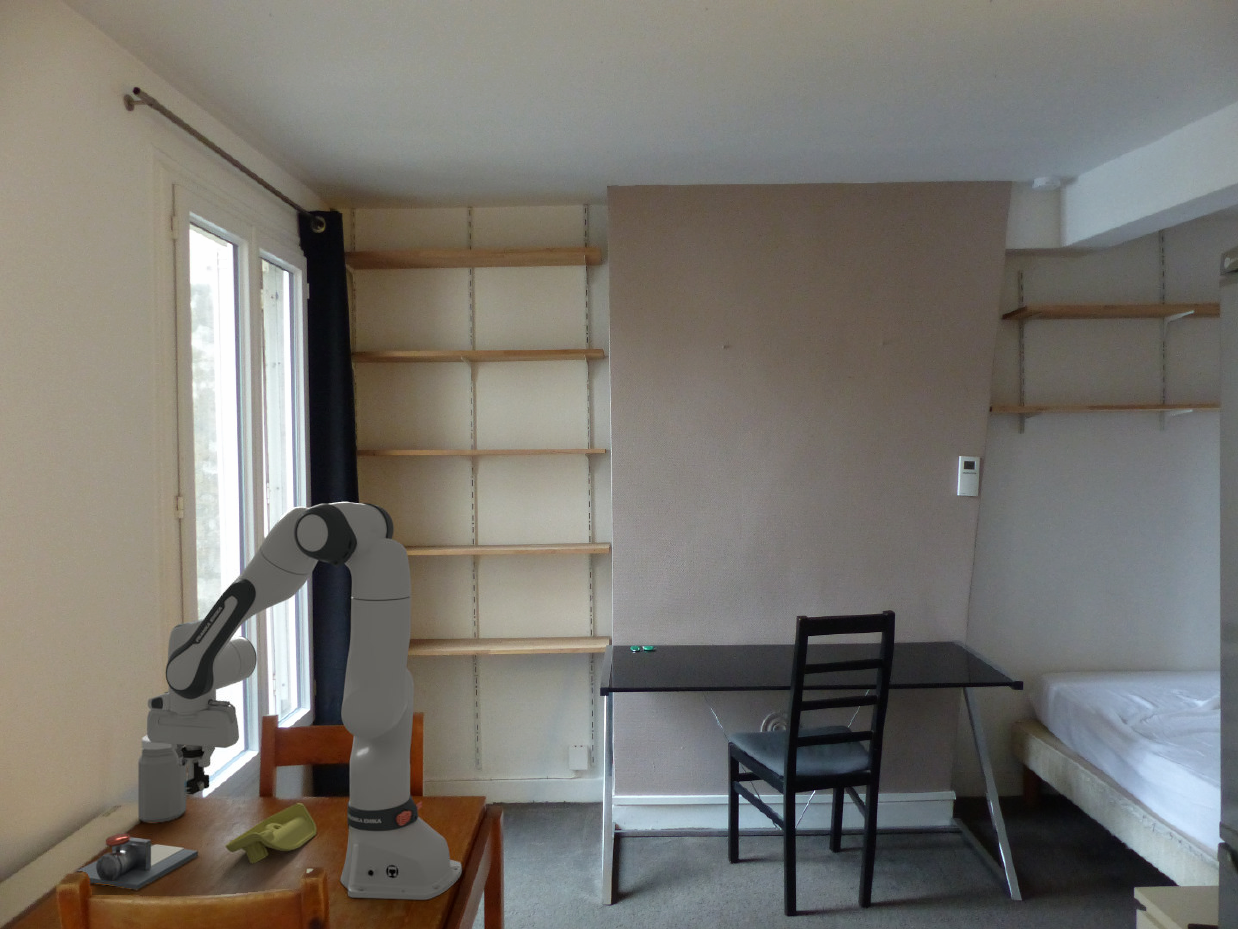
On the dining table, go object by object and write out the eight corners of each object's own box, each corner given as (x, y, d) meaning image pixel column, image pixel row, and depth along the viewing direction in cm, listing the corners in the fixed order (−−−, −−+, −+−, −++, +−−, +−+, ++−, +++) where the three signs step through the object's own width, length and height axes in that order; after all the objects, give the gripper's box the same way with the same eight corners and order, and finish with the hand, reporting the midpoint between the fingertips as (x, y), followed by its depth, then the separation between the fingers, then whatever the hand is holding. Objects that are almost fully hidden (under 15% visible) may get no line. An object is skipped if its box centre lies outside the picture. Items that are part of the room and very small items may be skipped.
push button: (192, 798, 174) (192, 749, 174) (171, 796, 175) (170, 747, 175) (216, 787, 180) (215, 739, 180) (195, 785, 182) (194, 737, 182)
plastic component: (265, 819, 185) (306, 799, 185) (278, 851, 185) (319, 831, 184) (215, 851, 166) (260, 829, 165) (230, 888, 165) (275, 865, 165)
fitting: (150, 870, 165) (151, 832, 165) (124, 884, 159) (124, 845, 159) (117, 865, 167) (117, 828, 167) (89, 879, 161) (89, 841, 161)
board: (198, 855, 173) (198, 850, 173) (137, 890, 158) (137, 884, 158) (134, 846, 177) (134, 841, 177) (68, 880, 162) (68, 874, 162)
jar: (180, 822, 190) (180, 740, 190) (131, 827, 187) (131, 744, 187) (191, 806, 199) (191, 728, 199) (144, 810, 197) (144, 731, 197)
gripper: (245, 697, 178) (246, 764, 178) (164, 692, 184) (165, 757, 184) (223, 705, 172) (224, 774, 172) (140, 700, 178) (141, 767, 178)
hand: (193, 765), depth 178 cm, fingers closed on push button, 4 cm apart
